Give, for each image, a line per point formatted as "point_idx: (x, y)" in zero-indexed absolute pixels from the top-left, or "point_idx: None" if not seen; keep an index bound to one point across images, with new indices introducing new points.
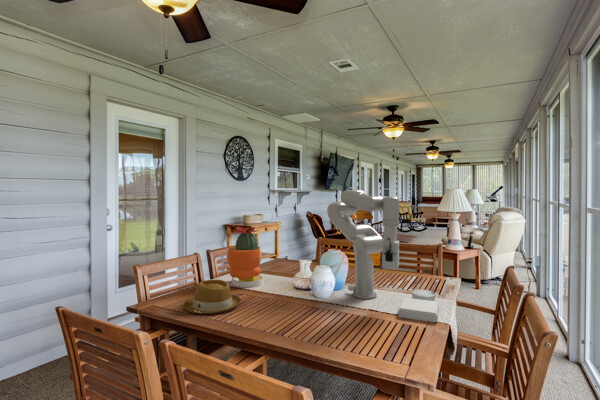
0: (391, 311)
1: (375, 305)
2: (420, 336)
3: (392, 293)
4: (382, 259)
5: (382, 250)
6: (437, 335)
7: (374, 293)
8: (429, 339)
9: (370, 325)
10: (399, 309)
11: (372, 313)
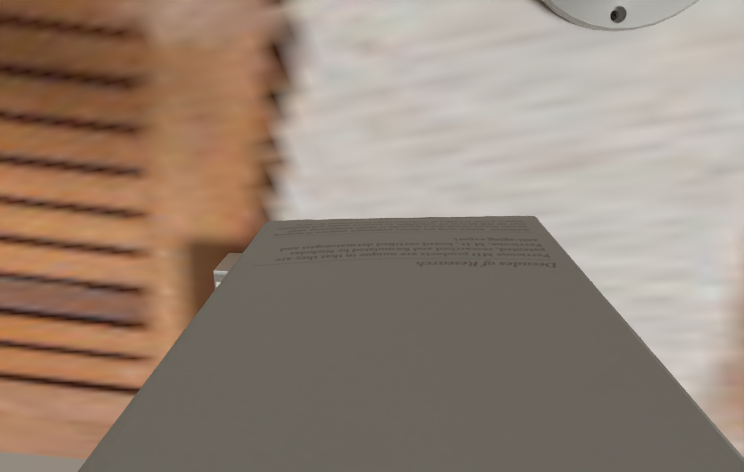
0: (311, 199)
1: (392, 65)
2: (27, 376)
3: (738, 153)
4: (213, 296)
5: (82, 467)
6: (84, 442)
7: (652, 4)
8: (18, 412)
9: (8, 106)
10: (219, 278)
11: (216, 76)
